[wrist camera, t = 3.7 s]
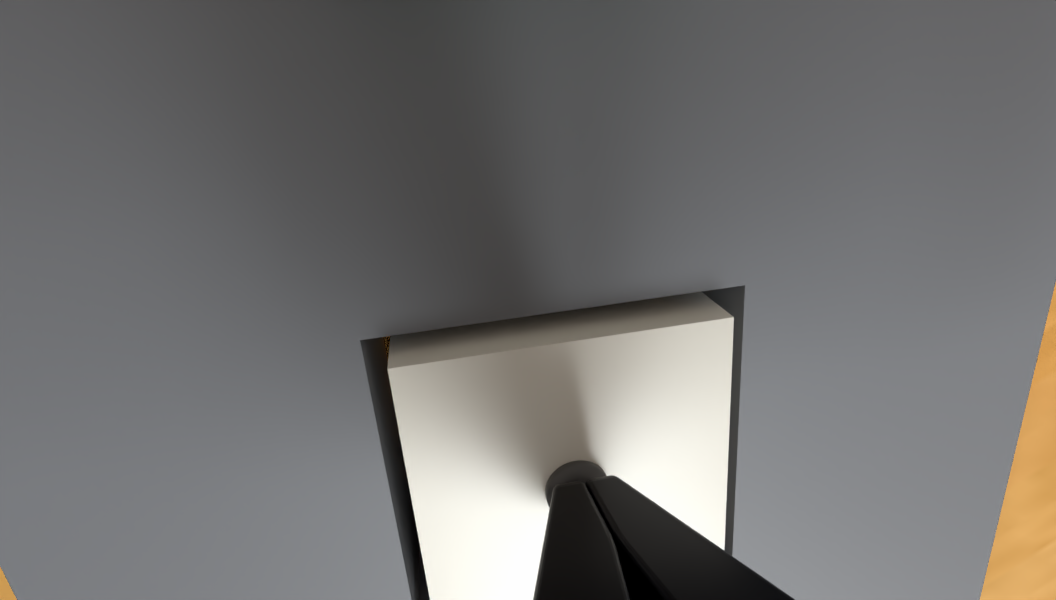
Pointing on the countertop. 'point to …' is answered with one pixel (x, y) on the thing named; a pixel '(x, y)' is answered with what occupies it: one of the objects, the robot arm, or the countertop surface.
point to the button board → (508, 267)
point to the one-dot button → (558, 428)
